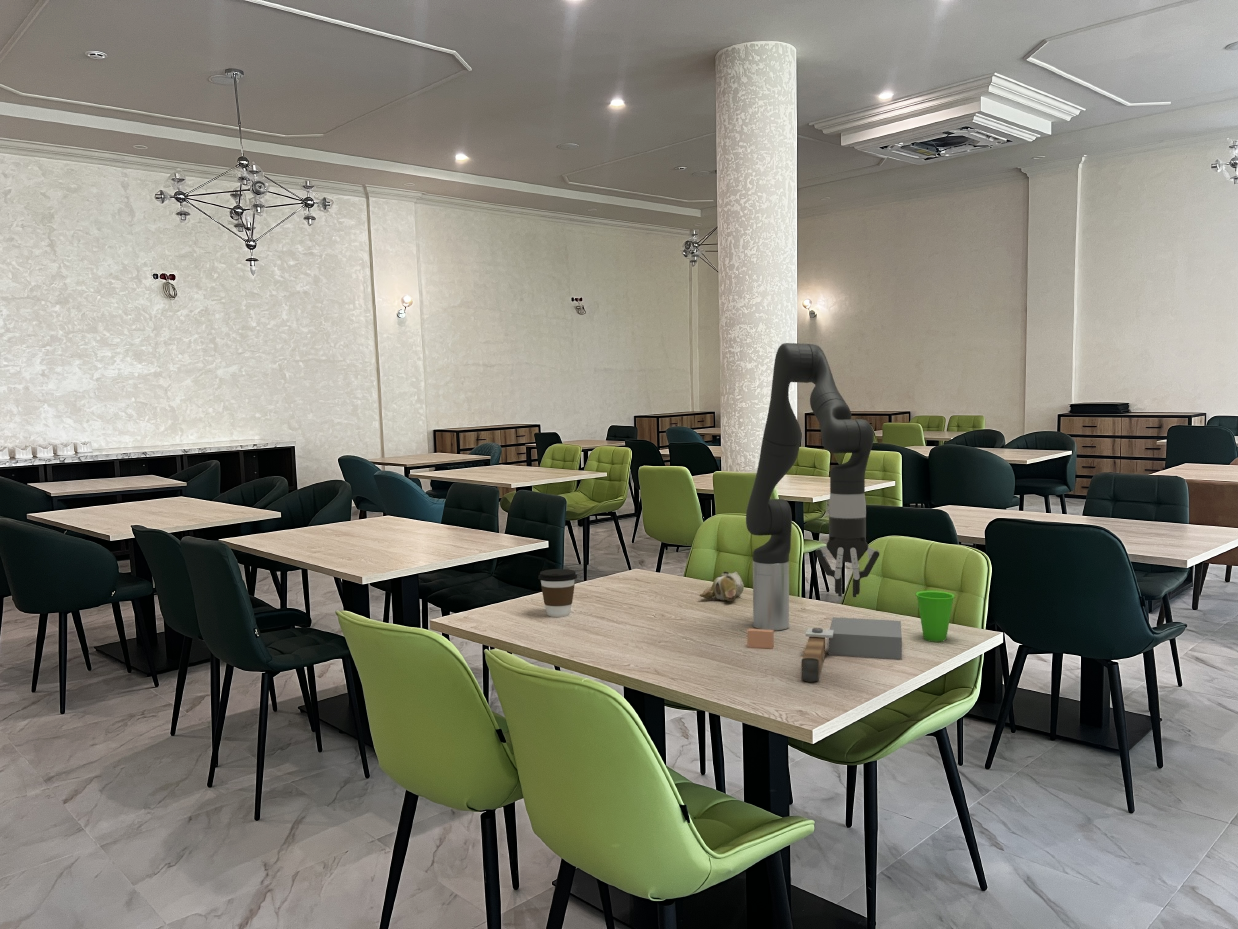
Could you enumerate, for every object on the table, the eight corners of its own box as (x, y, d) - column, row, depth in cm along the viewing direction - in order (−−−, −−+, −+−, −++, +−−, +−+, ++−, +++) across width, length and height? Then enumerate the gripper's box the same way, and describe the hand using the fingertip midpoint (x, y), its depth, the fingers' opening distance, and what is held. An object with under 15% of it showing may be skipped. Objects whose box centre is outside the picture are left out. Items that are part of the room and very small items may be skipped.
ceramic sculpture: (752, 567, 266) (728, 579, 253) (753, 596, 266) (730, 608, 254) (720, 565, 272) (696, 576, 259) (721, 592, 273) (698, 604, 260)
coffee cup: (573, 619, 240) (572, 576, 240) (534, 618, 242) (533, 575, 241) (581, 610, 251) (580, 568, 250) (544, 609, 253) (543, 568, 252)
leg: (810, 650, 206) (810, 633, 206) (825, 651, 205) (825, 634, 205) (800, 681, 183) (800, 662, 183) (818, 682, 182) (818, 663, 182)
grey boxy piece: (755, 632, 224) (755, 610, 223) (900, 641, 214) (900, 617, 213) (744, 652, 206) (744, 627, 206) (901, 662, 196) (901, 636, 196)
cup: (952, 635, 218) (953, 591, 218) (956, 645, 210) (956, 599, 209) (914, 633, 221) (914, 590, 220) (916, 642, 212) (916, 597, 211)
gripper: (882, 513, 187) (881, 594, 188) (814, 511, 191) (814, 591, 192) (881, 517, 179) (881, 601, 181) (812, 516, 184) (812, 598, 185)
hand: (847, 595), depth 186 cm, fingers closed
